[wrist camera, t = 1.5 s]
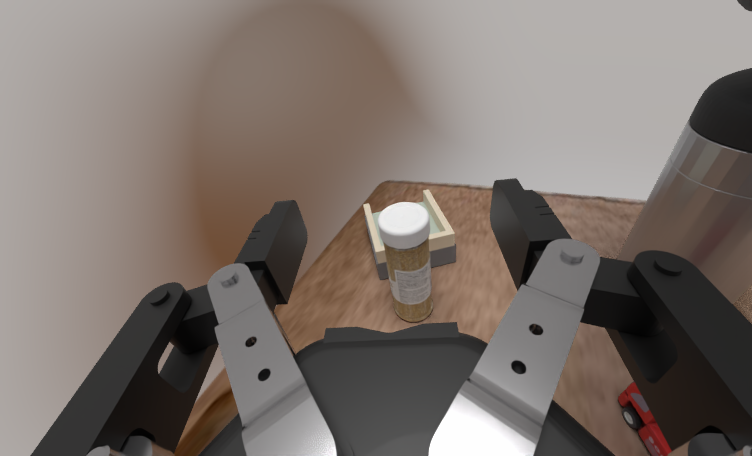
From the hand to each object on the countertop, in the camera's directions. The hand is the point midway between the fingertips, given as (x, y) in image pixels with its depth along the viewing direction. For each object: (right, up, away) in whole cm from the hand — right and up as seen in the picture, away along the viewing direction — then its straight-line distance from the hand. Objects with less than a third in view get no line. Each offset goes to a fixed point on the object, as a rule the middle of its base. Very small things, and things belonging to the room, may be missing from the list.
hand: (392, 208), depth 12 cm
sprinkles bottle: (+4, -10, +23) cm, 25 cm away
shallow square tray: (+4, -3, +30) cm, 31 cm away
